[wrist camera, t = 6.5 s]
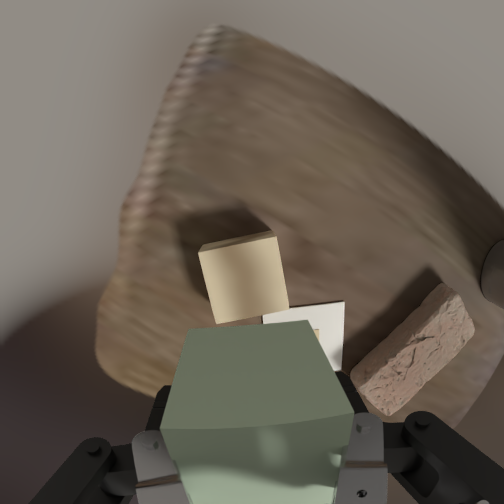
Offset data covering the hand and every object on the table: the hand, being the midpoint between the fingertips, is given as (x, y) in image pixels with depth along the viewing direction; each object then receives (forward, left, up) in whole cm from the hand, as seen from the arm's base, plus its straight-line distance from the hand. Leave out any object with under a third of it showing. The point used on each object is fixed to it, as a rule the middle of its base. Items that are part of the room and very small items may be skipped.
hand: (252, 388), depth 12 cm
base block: (0, 0, -20) cm, 20 cm away
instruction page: (-6, +9, -20) cm, 23 cm away
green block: (0, 0, -1) cm, 1 cm away
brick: (-20, +12, -20) cm, 31 cm away
